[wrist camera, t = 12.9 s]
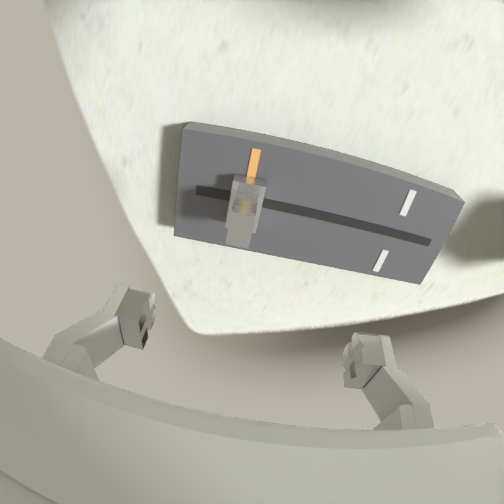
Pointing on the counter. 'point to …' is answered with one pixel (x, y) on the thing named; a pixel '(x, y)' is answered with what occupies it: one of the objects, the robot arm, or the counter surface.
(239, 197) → the fader knob
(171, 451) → the robot arm
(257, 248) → the fader panel
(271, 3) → the counter surface
